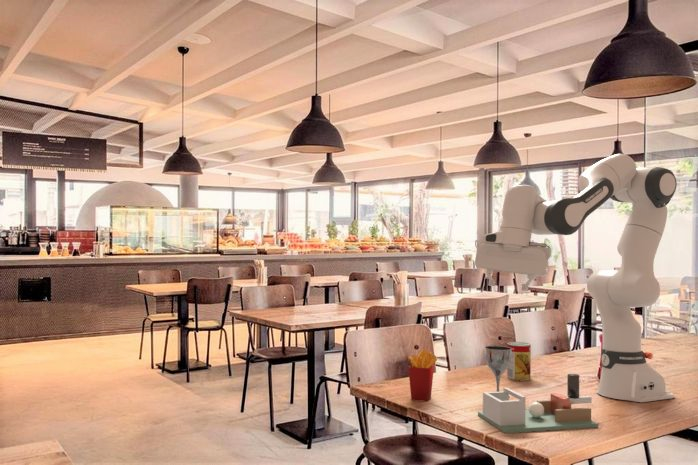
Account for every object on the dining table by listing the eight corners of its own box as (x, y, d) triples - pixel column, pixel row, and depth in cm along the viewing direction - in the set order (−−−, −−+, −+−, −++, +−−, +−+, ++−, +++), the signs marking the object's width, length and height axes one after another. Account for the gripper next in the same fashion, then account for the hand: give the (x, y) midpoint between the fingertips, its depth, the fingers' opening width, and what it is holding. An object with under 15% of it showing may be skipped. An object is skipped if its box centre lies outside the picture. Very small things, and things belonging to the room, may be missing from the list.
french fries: (407, 400, 183) (407, 350, 183) (414, 393, 190) (414, 345, 190) (436, 403, 179) (436, 352, 180) (442, 396, 187) (442, 347, 187)
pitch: (563, 410, 173) (563, 382, 173) (598, 427, 157) (598, 396, 158) (478, 415, 167) (478, 386, 167) (505, 433, 152) (505, 401, 152)
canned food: (535, 379, 212) (535, 344, 212) (517, 381, 209) (517, 346, 209) (519, 374, 219) (519, 341, 219) (502, 376, 216) (502, 342, 216)
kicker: (583, 409, 169) (583, 371, 169) (596, 416, 163) (596, 376, 163) (550, 411, 167) (550, 373, 167) (562, 418, 161) (563, 378, 161)
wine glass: (512, 394, 191) (512, 346, 191) (510, 400, 183) (510, 350, 183) (486, 392, 193) (486, 344, 193) (483, 398, 186) (483, 348, 186)
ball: (539, 414, 165) (539, 399, 165) (547, 419, 161) (547, 403, 161) (525, 415, 164) (525, 400, 164) (533, 420, 160) (533, 404, 160)
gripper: (553, 245, 172) (547, 294, 171) (482, 238, 182) (476, 284, 180) (550, 242, 166) (543, 292, 165) (476, 235, 176) (470, 282, 175)
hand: (507, 288), depth 173 cm, fingers open, 8 cm apart
